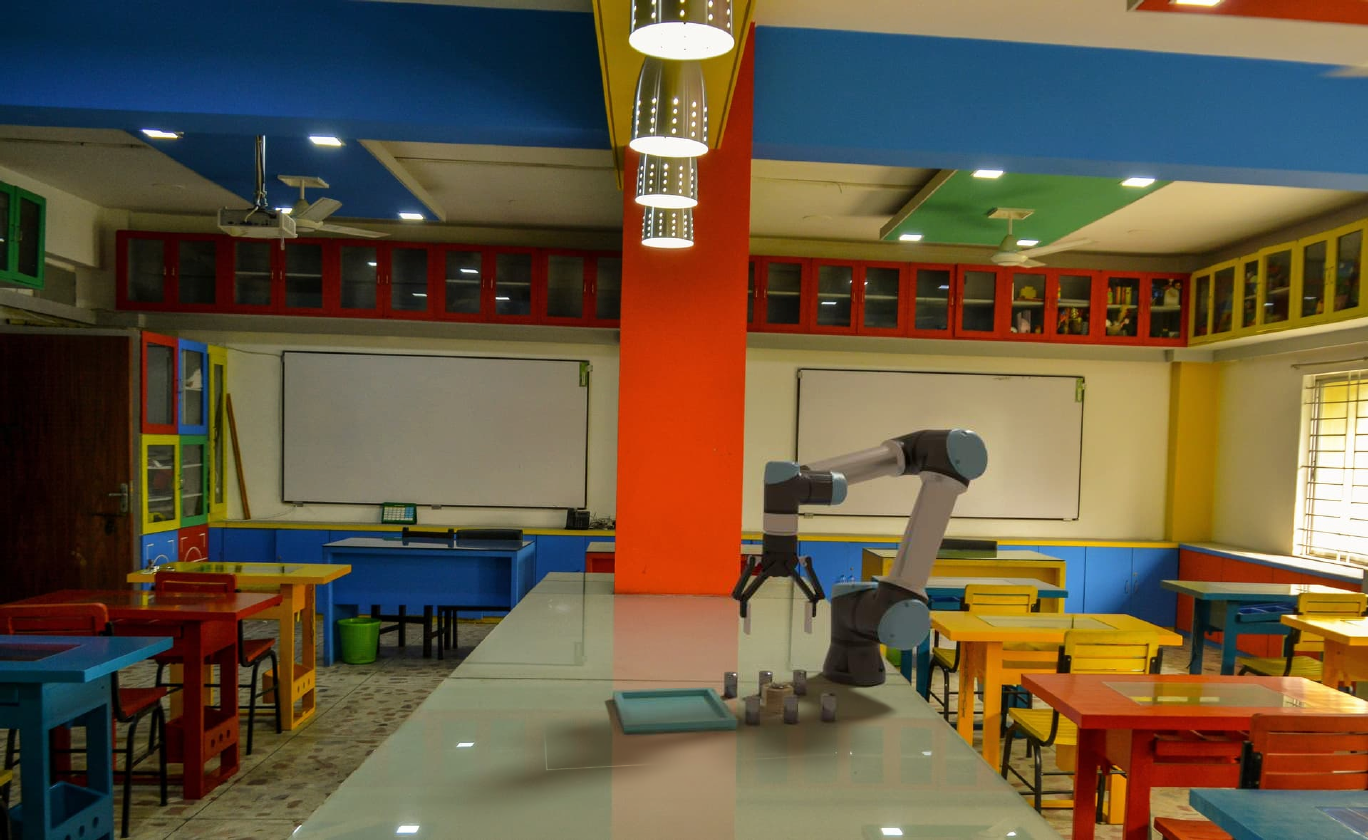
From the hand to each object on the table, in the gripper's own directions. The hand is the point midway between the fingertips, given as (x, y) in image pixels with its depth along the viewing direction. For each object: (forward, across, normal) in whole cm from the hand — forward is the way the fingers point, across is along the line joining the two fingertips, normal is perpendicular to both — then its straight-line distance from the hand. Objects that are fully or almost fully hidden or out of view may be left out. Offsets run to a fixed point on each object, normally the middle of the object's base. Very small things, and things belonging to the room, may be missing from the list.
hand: (777, 632), depth 178 cm
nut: (+16, 0, 0) cm, 16 cm away
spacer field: (+16, 0, 0) cm, 16 cm away
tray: (+16, +23, +1) cm, 28 cm away
